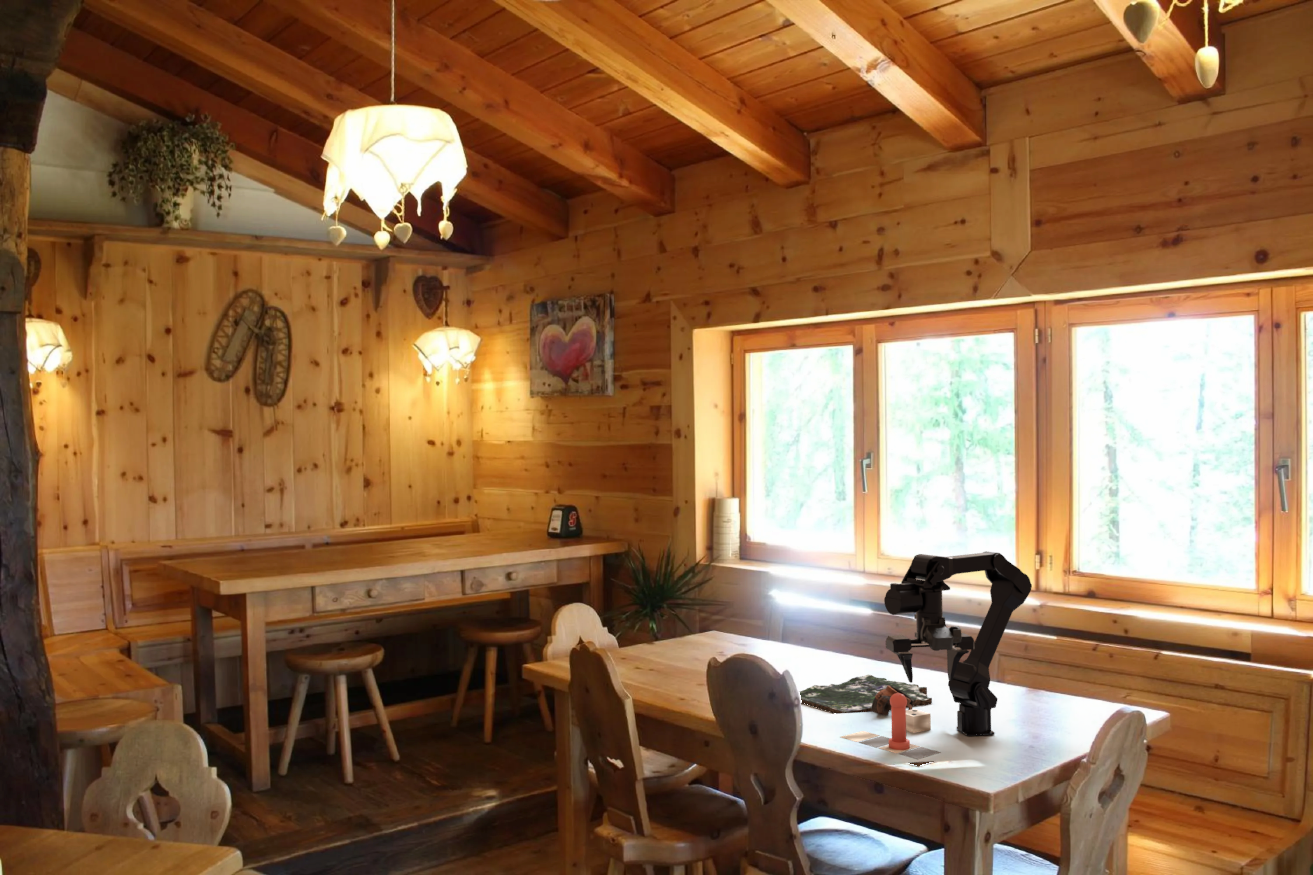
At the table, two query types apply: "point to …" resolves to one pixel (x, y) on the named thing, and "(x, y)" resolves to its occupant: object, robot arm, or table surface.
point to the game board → (882, 741)
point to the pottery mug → (887, 700)
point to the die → (917, 721)
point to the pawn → (898, 722)
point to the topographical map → (858, 694)
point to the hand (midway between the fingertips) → (930, 681)
